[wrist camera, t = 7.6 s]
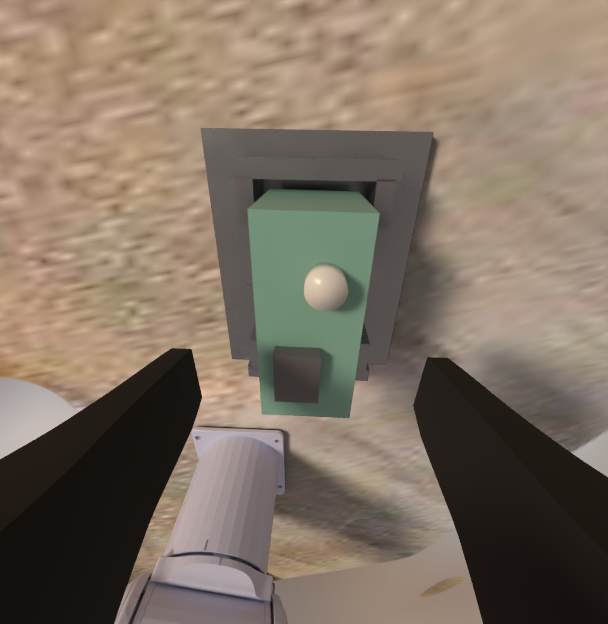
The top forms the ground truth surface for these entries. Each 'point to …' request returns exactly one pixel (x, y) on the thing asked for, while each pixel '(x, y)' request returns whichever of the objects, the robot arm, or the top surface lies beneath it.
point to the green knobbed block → (310, 296)
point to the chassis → (315, 176)
